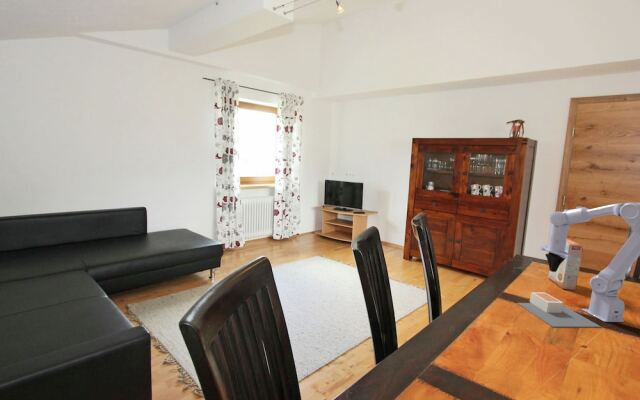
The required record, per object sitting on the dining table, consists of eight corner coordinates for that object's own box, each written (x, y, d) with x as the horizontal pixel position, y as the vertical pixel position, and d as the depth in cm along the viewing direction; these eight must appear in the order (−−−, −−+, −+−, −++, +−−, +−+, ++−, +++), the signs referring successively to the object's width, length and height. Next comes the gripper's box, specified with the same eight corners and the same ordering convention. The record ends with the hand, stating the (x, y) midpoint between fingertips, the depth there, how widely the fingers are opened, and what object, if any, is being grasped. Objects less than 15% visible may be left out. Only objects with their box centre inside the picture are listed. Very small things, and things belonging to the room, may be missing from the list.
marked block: (543, 302, 135) (561, 312, 126) (529, 301, 134) (546, 312, 125) (545, 292, 134) (563, 302, 125) (531, 292, 134) (548, 302, 125)
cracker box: (576, 291, 150) (584, 245, 147) (561, 289, 151) (568, 244, 148) (561, 279, 163) (567, 237, 160) (547, 278, 164) (553, 236, 161)
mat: (600, 327, 117) (600, 326, 117) (552, 327, 115) (552, 326, 115) (559, 304, 134) (559, 303, 134) (517, 303, 133) (517, 302, 133)
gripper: (536, 235, 147) (531, 265, 149) (562, 244, 133) (557, 277, 134) (551, 235, 148) (546, 265, 149) (579, 245, 133) (573, 277, 135)
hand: (552, 271), depth 142 cm, fingers closed
